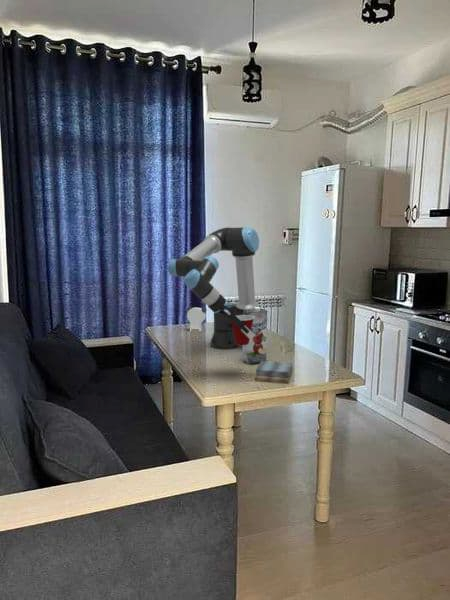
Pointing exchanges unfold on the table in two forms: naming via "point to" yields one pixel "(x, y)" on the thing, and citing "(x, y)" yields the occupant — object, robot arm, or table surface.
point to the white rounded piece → (196, 317)
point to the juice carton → (256, 337)
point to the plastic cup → (239, 335)
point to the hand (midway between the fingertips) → (248, 334)
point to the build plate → (274, 372)
